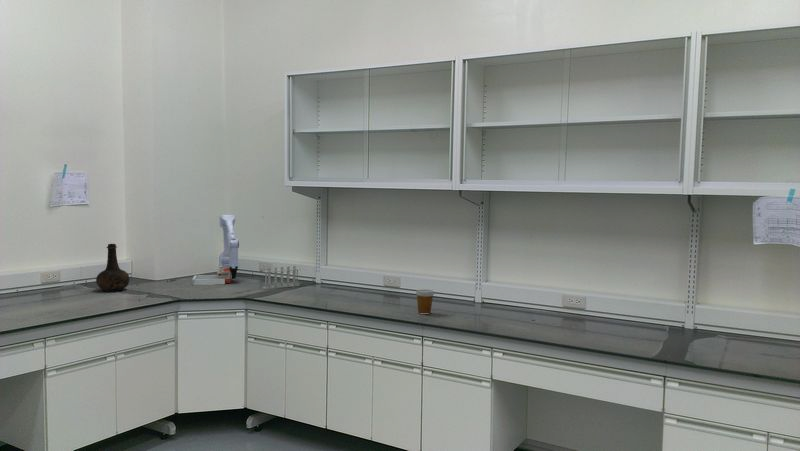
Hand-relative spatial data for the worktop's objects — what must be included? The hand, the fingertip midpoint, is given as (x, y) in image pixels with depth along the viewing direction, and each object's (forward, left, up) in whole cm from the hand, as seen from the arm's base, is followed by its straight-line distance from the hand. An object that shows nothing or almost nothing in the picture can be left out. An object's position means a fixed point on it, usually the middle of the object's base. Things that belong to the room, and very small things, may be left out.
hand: (233, 278), depth 388 cm
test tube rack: (+21, +30, -3) cm, 37 cm away
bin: (-1, -15, -3) cm, 16 cm away
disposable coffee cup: (+111, +99, -3) cm, 149 cm away
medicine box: (-1, -6, -3) cm, 6 cm away
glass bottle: (+21, -69, -3) cm, 73 cm away
